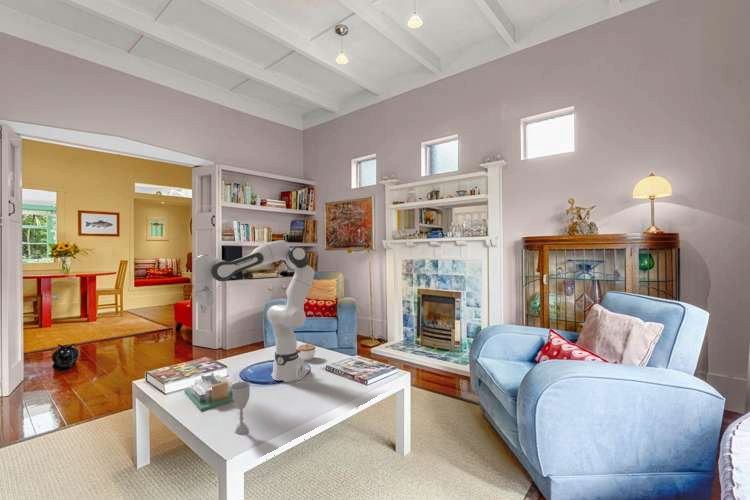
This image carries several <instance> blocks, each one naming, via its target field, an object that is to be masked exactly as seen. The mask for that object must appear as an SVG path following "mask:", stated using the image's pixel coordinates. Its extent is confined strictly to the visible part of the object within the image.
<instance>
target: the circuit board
mask: <svg viewBox="0 0 750 500" xmlns="http://www.w3.org/2000/svg"><path fill="white" fill-rule="evenodd" d="M191 388H192V387H189V388H187V389H184V390H183V391H184V394H185V395H186V396H187V397H188V398H189V399H190V401H191V402H192V403H193V404H194V405H195V406H196V408H198V410H199V411H200V412H203V411H206V410H209V409H213V408H216V407H220V406H222V405H226V404H230V403H234V401H233V392H230V395H228V398H227V399H223V400H220V401H216V402H213V403H212V402H211V401H208V402H205V401H204V400H203V401H199V400H198V399H197V398H196V397H195V396H194V394H193V393H192V392H191Z"/></svg>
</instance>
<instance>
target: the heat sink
mask: <svg viewBox="0 0 750 500" xmlns="http://www.w3.org/2000/svg"><path fill="white" fill-rule="evenodd" d="M210 375H211V376H212V377H214V378H215V379H216V380H217V381H221V382H225V381H226V382H228V395H230V392H233V389H232V388H231V386H232V385H233V384H234V383H232V382H231V381H229V380H228V379H227V378H225V377H224V376H222V377H221V376H220V375H219V374H217V375H215V373H214V372H213V371H212V372H210ZM200 377H201V378H200V379H197V380H194V384H191V385H190V388H191V392H192V393H193V394H194V396H195V397H196V398H197V399H198V400H199V401H203V400H204V401H205V402H208V401H211V394H210V384H209V383H208V382H207V381H206V380H205V379H204V377H205V374H201V375H200Z"/></svg>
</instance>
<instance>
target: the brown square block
mask: <svg viewBox="0 0 750 500" xmlns="http://www.w3.org/2000/svg"><path fill="white" fill-rule="evenodd" d="M210 394H211V402H212V403H213V402H216V401H220V400H223V399H227V398H228V382H226V381H225V382H222V383H218V384H214V385H210Z"/></svg>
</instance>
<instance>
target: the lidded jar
mask: <svg viewBox="0 0 750 500" xmlns="http://www.w3.org/2000/svg"><path fill="white" fill-rule="evenodd" d="M297 349H300V350H301V352H300V353H298V355H299V357H300V358H302V359H303V360H304V361H305V362H306V361H312V359H313V358H314V357H315V355H316V345H314V344H308V343H305V344H301V345H299V346H298V347H297Z"/></svg>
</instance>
